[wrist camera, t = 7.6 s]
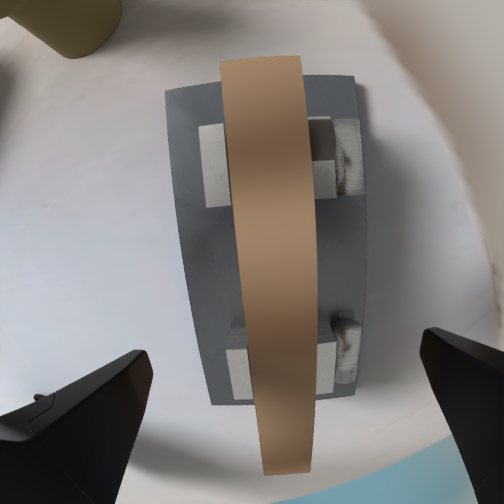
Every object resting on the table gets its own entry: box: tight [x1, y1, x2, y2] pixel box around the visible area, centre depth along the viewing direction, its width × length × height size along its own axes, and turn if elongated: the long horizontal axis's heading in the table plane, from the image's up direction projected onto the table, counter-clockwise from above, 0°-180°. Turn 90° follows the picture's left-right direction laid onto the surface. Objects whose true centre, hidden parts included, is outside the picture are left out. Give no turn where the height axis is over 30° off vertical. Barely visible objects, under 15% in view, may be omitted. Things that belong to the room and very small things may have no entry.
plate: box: [165, 75, 366, 405], centre depth 17 cm, size 22×11×4 cm, turn 5°
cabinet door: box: [220, 56, 336, 475], centre depth 14 cm, size 18×4×8 cm, turn 5°
